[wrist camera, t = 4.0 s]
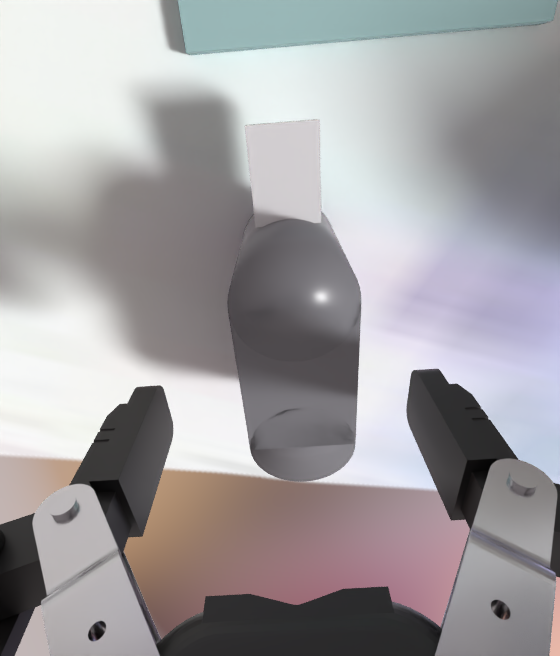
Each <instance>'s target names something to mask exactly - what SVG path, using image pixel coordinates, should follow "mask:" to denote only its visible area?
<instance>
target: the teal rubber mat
mask: <svg viewBox="0 0 560 656" xmlns="http://www.w3.org/2000/svg"><path fill="white" fill-rule="evenodd" d="M557 2H558V0H178V5H179V12H180V18H181V24H182V30H183V36H184V43H185V49H186V53H187V54H189V55H197V54H208V53H220V52H231V51H242V50H254V49H265V48H276V47H288V46H299V45H310V44H322V43H333V42H344V41H356V40H367V39H378V38H390V37H401V36H412V35H424V34H435V33H446V32H457V31H469V30H480V29H491V28H503V27H514V26H525V25H537V24H543V23H546V22H550V21H553V19H554V15H555V10H556V6H557Z"/></svg>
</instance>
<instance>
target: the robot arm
mask: <svg viewBox="0 0 560 656" xmlns="http://www.w3.org/2000/svg"><path fill="white" fill-rule="evenodd" d="M407 419H408V423H409V426H410V429H411V431H412V433H413V436H414V438H415V440H416V442H417V445H418V447H419V449H420V451H421V454H422V456H423V458H424V460H425V463H426V465H427V467H428V469H429V472H430V474H431V476H432V479H433V481H434V483H435V485H436V488H437V490H438V492H439V494H440V497H441V499H442V501H443V503H444V506H445V508H446V510H447V512H448V515H449V517H450V519H451V520H464V519H466V522H467V524H468V526H469V528H470V532H469V535H468V538H467V542H466V545H465V548H464V551H463V555H462V558H461V562H460V565H459V569H458V571H457V575H456V578H455V582H454V585H453V589H452V592H451V595H450V598H449V602H448V605H447V608H446V611H445V614H444V618H443V621H442V624H441V627H439V626H438V625H437V624H436V623H434V622H433V621H431V620H430V619H428V618H427V617H426V616H424V615H422V614H421V613H419V612H417V611H415V610H413V609H411V608H409V607H407V606H404V605H401V604H399V603H395V602H392V601H391V597H390V593H389V589H388V587H371V588H352V589H342V590H339V591H336V592H333V593H331V594H328V595H325V596H322V597H320V598H317V599H314V600H312V601H309V602H306V603H303V604H300V605H292V604H288V603H284V602H280V601H276V600H272V599H268V598H264V597H260V596H255V595H251V594H242V595H226V596H225V595H224V596H206V598H205V605H204V612H202V613H200V614H197V615H195V616H193V617H191V618H189V619H187V620H185V621H184V622H183V623H181V624H180V625H178V626H177V627H175V628H174V629H173V630H172V631H171V632H170V633H168V634H167V635H166V636H165V637H164V638H163V639H162V640H161V638H160V636H159V633H158V631H157V629H156V626H155V624H154V622H153V620H152V618H151V615H150V613H149V611H148V608H147V606H146V604H145V601H144V599H143V596H142V594H141V592H140V589H139V587H138V584H137V582H136V580H135V577H134V575H133V572H132V570H131V568H130V565H129V563H128V561H127V558H126V556H125V554H124V548H125V544H126V542H127V539H128V537H141V536H143V533H144V530H145V526H146V523H147V520H148V517H149V513H150V510H151V507H152V504H153V500H154V497H155V494H156V491H157V487H158V484H159V481H160V478H161V474H162V471H163V468H164V465H165V461H166V458H167V455H168V452H169V448H170V445H171V442H172V438H173V421H172V418H171V414H170V410H169V407H168V403H167V400H166V396H165V393H164V389H163V387H162V386H145V387H137V388H135V390H134V392H133V394H132V396H131V398H130V400H129V402H128V404H120V405H118V406H117V407H116V408H115V409H114V410H113V411H112V412H111V413H110V414H109V415H108V416H107V417H106V419H105V421H104V423H103V425H102V427H101V428H100V432H98V434H97V436H96V438H95V439H94V443H92V445H91V447H90V448H89V450H88V452H87V454H86V456H85V458H84V459H83V461H82V463H81V465H80V467H79V469H78V470H77V472H76V474H75V476H74V478H73V480H72V481H71V483H70V485H69V486H67V487H64V488H62V489H60V490H58V491H56V492H54V493H53V494H52V495H50V496H49V497H48V498H47V499H46V500H44V502H43V503H42V504H41V505H40V506H39V508H38V509H37V511H36V513H33V514H31V515H28V516H25V517H22V518H19V519H16V520H13V521H10V522H7V523H4V524H1V525H0V656H15V653H16V651H17V648H18V646H19V644H20V642H21V639H22V637H23V635H24V632H25V630H26V628H27V625H28V623H29V620H30V618H31V616H32V614H33V611H34V609H35V607H37V606H39V605H41V609H42V615H43V621H44V626H45V631H46V636H47V642H48V646H49V652H50V656H549V653H550V642H551V632H552V621H553V610H554V599H555V588H556V576H557V577H560V485H559V484H556V483H553V482H552V480H551V479H550V478H549V477H548V476H547V475H546V474H545V473H544V472H543V471H541V470H540V469H538V468H537V467H535V466H533V465H531V464H529V463H527V462H524V461H521V460H518V458H517V457H516V455H515V454H514V453H513V451H512V450H511V448H510V447H509V446H508V444H507V443H506V441H505V440H504V439H503V437H502V436H501V434H500V433H499V432H498V430H497V429H496V428H495V426H494V425H493V423H492V422H491V421H490V420H488V416H487V415H486V414H485V412H484V411H483V409H481V407H480V405H479V404H478V402H477V401H476V400H475V398H474V397H473V395H472V394H471V393H469V392H468V391H467V390H465V389H464V388H462V387H461V386H460V385H458V384H449V383H448V382H447V380H446V379H445V377H444V376H443V374H442V373H441V371H440V370H439V369H426V370H414V371H412V374H411V379H410V386H409V394H408V401H407Z"/></svg>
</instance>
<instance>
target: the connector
mask: <svg viewBox="0 0 560 656" xmlns="http://www.w3.org/2000/svg"><path fill="white" fill-rule="evenodd" d="M245 133H246V142H247V152H248V161H249V171H250V180H251V190H252V199H253V209H254V214H253V215H252V217H251V218H250V220H249V222H248V223H247V225H246V228H245V231H244V235H243V239H242V243H241V246H240V250H239V254H238V258H237V262H236V266H235V270H234V274H233V277H232V281H231V285H230V289H229V294H228V313H229V319H230V326H231V332H232V338H233V344H234V350H235V357H236V363H237V369H238V375H239V382H240V388H241V394H242V400H243V407H244V413H245V419H246V425H247V431H248V438H249V444H250V450H251V454H252V457H253V459H254V460H255V462H256V463H257V465H258V466H259V467H260V468H261V469H263V470H264V471H265V472H267V473H268V474H270V475H272V476H275V477H277V478H280V479H284V480H289V481H312V480H317V479H321V478H324V477H327V476H329V475H331V474H333V473H335V472H337V471H338V470H340V469H341V468H342V467H344V466H345V465H346V463H347V462H348V461H349V460H350V458H351V457H352V455H353V452H354V449H355V438H356V414H357V391H358V367H359V343H360V319H361V292H360V287H359V284H358V281H357V278H356V276H355V274H354V272H353V270H352V268H351V266H350V264H349V262H348V260H347V258H346V256H345V254H344V252H343V249H342V247H341V245H340V243H339V241H338V239H337V237H336V235H335V233H334V231H333V229H332V227H331V225H330V223H329V221H328V219H327V218H326V216H325V215H324V214H323V213H322V211H321V180H320V120H318V119H313V120H301V121H289V122H277V123H265V124H253V125H246V126H245Z"/></svg>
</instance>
